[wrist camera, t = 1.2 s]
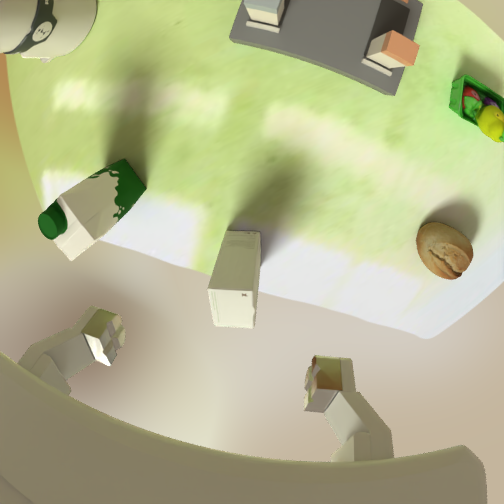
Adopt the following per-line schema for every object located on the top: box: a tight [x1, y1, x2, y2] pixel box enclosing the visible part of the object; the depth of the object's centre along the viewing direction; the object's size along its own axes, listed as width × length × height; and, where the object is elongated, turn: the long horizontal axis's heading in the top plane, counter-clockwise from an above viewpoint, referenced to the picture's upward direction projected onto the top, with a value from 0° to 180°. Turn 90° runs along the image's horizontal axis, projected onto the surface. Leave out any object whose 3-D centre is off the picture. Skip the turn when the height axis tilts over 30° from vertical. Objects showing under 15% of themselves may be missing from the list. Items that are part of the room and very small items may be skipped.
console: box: [229, 0, 423, 96], centre depth 25 cm, size 24×18×5 cm
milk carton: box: [38, 159, 146, 261], centre depth 38 cm, size 9×9×20 cm
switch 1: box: [244, 0, 284, 26], centre depth 22 cm, size 4×3×8 cm
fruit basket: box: [449, 75, 504, 142], centre depth 26 cm, size 11×9×11 cm
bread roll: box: [416, 222, 473, 280], centre depth 42 cm, size 10×15×8 cm, turn 73°
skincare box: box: [208, 231, 261, 328], centre depth 45 cm, size 8×7×16 cm
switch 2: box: [366, 30, 420, 68], centre depth 23 cm, size 4×3×8 cm
